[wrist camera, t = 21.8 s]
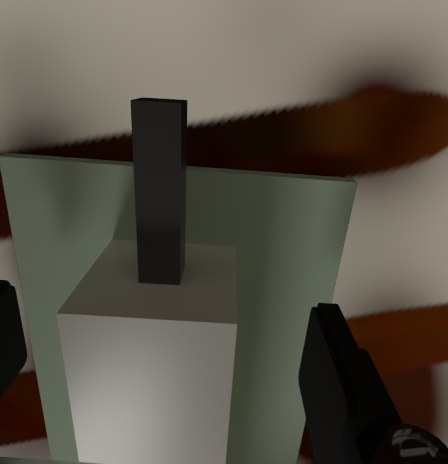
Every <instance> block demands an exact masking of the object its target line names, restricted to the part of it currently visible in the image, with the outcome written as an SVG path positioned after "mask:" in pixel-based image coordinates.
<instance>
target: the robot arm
mask: <svg viewBox="0 0 448 464" xmlns="http://www.w3.org/2000/svg"><path fill="white" fill-rule="evenodd" d="M26 360H27V350H26V344H25V338H24V333H23V328H22V322H21V317H20V311H19V306H18V300H17V295H16V290H15V287H14V286H11V285H10V283H9V282H8V281H7V280H0V398H1V397H2V395H3V394H4V392H5V391H6V390H7V388H8V387H9V386H10V384H11V383H12V381H13V380H14V379H15V377H16V376H17V375H18V373H19V372H20V370H21V369H22V368H23V366H24V365H25V363H26ZM298 382H299V388H300V393H301V397H302V402H303V407H304V411H305V416H306V421H307V425H308V430H309V434H310V439H311V444H312V449H313V453H314V458H315V463H316V464H448V448H447V446H446V445H445V444H444V443H443V442H442V441H441V440H440V439H439V438H438V437H436V436H435V435H433V434H432V433H430V432H429V431H428V430H425V429H423V428H421V427H419V426H417V425H413V424H409V423H403V422H402V420H401V418H400V416H399V415H398V412H397V410H396V408H395V406H394V404H393V402H392V400H391V398H390V396H389V394H388V392H387V390H386V388H385V386H384V384H383V382H382V380H381V378H380V376H379V374H378V372H377V370H376V368H375V365H374V363H373V361H372V359H371V357H370V355H369V354H368V352H367V350H365V349H362V348H358V346H357V344H356V342H355V340H354V338H353V335H352V333H351V331H350V329H349V327H348V325H347V322H346V320H345V318H344V316H343V314H342V312H341V310H340V307H339V306H338V304H331V303H318V305H317V307H312V308H311V311H310V316H309V322H308V327H307V332H306V337H305V342H304V347H303V353H302V358H301V363H300V368H299V374H298ZM0 464H100V463H85V462H71V461H56V460H41V459H26V458H10V457H0Z"/></svg>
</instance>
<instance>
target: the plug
mask: <svg viewBox="0 0 448 464" xmlns="http://www.w3.org/2000/svg"><path fill="white" fill-rule="evenodd" d="M131 117H132V142H133V165H134V188H135V211H136V234H137V241H132V240H115V239H112V240H111V241H110V243H109V244H108V245H107V247H106V248H105V249H104V251H103V252H102V253H101V255H100V256H99V257H98V259H97V260H96V261H95V263H94V264H93V265H92V267H91V268H90V269H89V271H88V272H87V273H86V275H85V276H84V277H83V279H82V280H81V281H80V283H79V284H78V285H77V287H76V288H75V289H74V291H73V292H72V293H71V295H70V296H69V297H68V299H67V300H66V301H65V303H64V304H63V305H62V307H61V308H60V309H59V311H58V312H57V313H56V314H57V321H58V327H59V334H60V340H61V347H62V354H63V360H64V367H65V373H66V380H67V386H68V393H69V400H70V406H71V413H72V419H73V426H74V433H75V439H76V446H77V452H78V459H79V462H85V463H100V464H225V463H226V452H227V440H228V428H229V416H230V404H231V392H232V380H233V368H234V356H235V344H236V332H237V282H236V247H233V246H216V245H200V244H185V226H186V154H187V100H175V99H158V98H139V99H134V100H131Z"/></svg>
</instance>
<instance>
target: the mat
mask: <svg viewBox="0 0 448 464" xmlns="http://www.w3.org/2000/svg"><path fill="white" fill-rule="evenodd" d="M0 169H1V174H2V180H3V186H4V191H5V197H6V203H7V209H8V214H9V220H10V226H11V231H12V237H13V243H14V248H15V254H16V260H17V265H18V271H19V277H20V283H21V288H22V294H23V299H24V305H25V311H26V317H27V322H28V328H29V334H30V339H31V345H32V351H33V357H34V362H35V368H36V374H37V380H38V385H39V391H40V397H41V402H42V408H43V414H44V419H45V425H46V431H47V437H48V442H49V448H50V454H51V458H52V460H56V461H71V462H79V459H78V452H77V446H76V439H75V433H74V426H73V419H72V413H71V406H70V400H69V393H68V386H67V380H66V373H65V367H64V360H63V354H62V347H61V340H60V334H59V327H58V321H57V314H56V313H57V312H58V311H59V309H60V308H61V307H62V305H63V304H64V303H65V301H66V300H67V299H68V297H69V296H70V295H71V293H72V292H73V291H74V289H75V288H76V287H77V285H78V284H79V283H80V281H81V280H82V279H83V277H84V276H85V275H86V273H87V272H88V271H89V269H90V268H91V267H92V265H93V264H94V263H95V261H96V260H97V259H98V257H99V256H100V255H101V253H102V252H103V251H104V249H105V248H106V247H107V245H108V244H109V243H110V241H111V240H112V239H115V240H132V241H137V234H136V211H135V188H134V165H133V162H126V161H112V160H98V159H84V158H71V157H57V156H43V155H30V154H16V153H7V154H4V155H1V156H0ZM356 188H357V182H356V181H355V180H354V179H353V178H345V177H331V176H317V175H304V174H290V173H276V172H263V171H249V170H235V169H221V168H208V167H194V166H186V226H185V244H200V245H216V246H233V247H236V282H237V332H236V344H235V356H234V368H233V380H232V392H231V404H230V416H229V428H228V440H227V452H226V463H225V464H296V462H297V457H298V453H299V448H300V443H301V439H302V434H303V430H304V425H305V421H306V416H305V411H304V407H303V402H302V397H301V393H300V388H299V382H298V374H299V368H300V363H301V358H302V353H303V347H304V342H305V337H306V332H307V327H308V322H309V316H310V311H311V308H312V307H317V305H318V303H331V302H332V297H333V293H334V288H335V283H336V279H337V274H338V269H339V265H340V260H341V256H342V251H343V247H344V242H345V238H346V233H347V229H348V224H349V219H350V215H351V210H352V206H353V201H354V197H355V192H356Z"/></svg>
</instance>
